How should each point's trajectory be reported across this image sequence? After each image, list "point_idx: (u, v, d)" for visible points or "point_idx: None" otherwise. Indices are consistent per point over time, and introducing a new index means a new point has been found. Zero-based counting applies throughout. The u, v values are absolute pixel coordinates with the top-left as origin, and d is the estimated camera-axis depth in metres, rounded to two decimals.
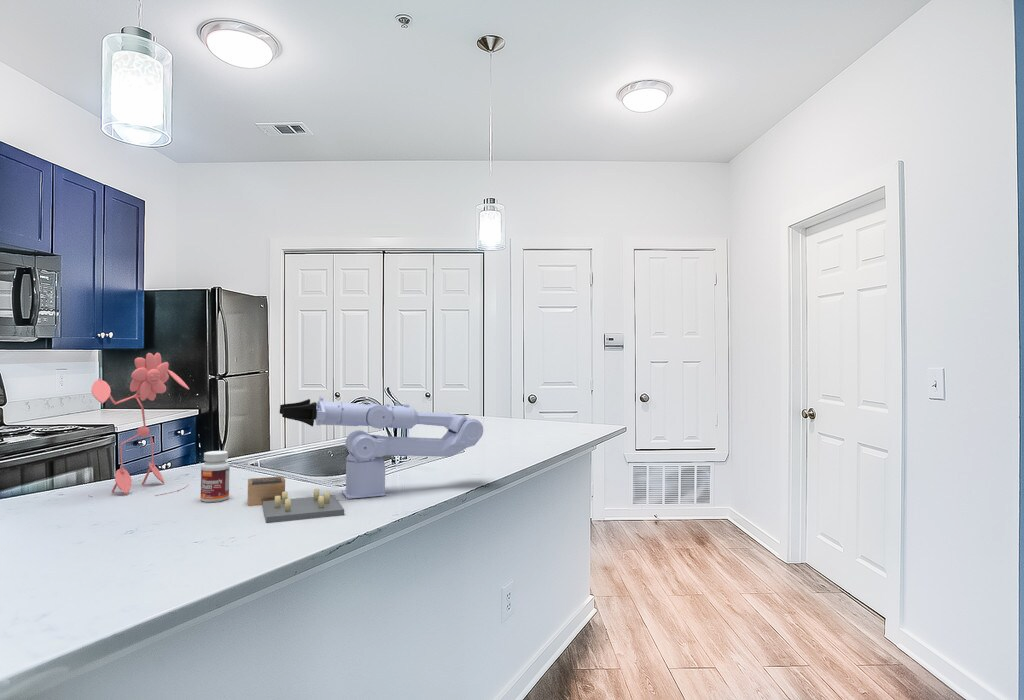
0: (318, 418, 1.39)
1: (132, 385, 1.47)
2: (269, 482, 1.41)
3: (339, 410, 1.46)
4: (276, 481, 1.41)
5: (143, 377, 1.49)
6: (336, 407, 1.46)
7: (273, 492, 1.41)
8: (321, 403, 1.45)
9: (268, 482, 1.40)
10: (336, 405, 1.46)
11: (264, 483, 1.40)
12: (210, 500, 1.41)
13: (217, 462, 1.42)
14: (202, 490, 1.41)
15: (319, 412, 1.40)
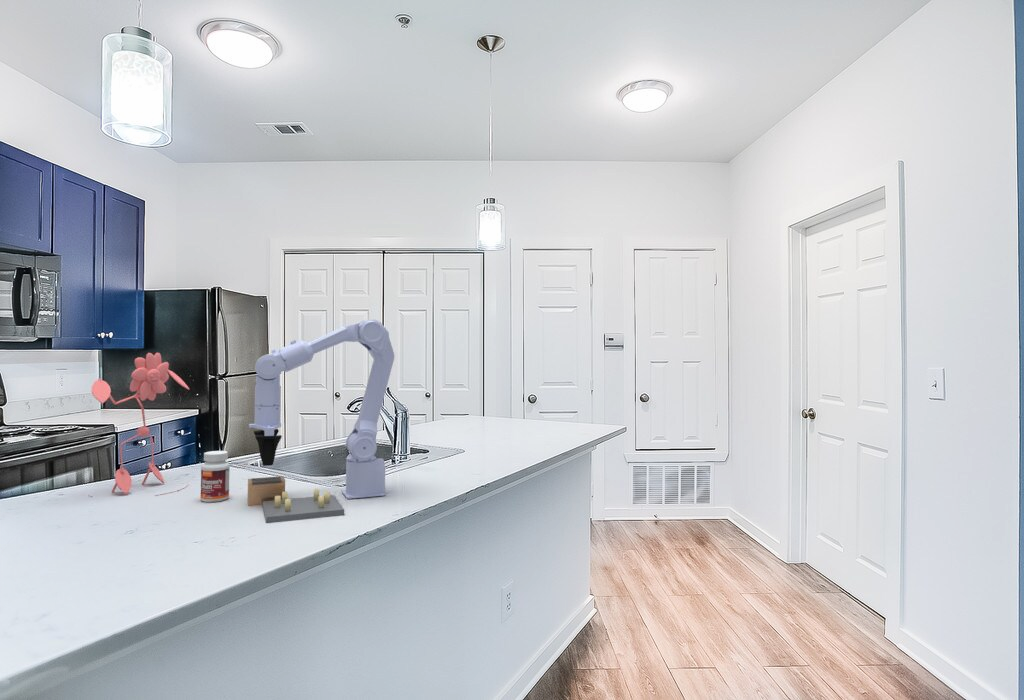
0: (272, 434, 1.36)
1: (132, 385, 1.47)
2: (269, 482, 1.41)
3: (263, 408, 1.40)
4: (276, 481, 1.41)
5: (143, 377, 1.49)
6: (260, 411, 1.40)
7: (273, 492, 1.41)
8: (256, 427, 1.39)
9: (268, 482, 1.40)
10: (258, 411, 1.40)
11: (264, 483, 1.40)
12: (210, 500, 1.41)
13: (217, 462, 1.42)
14: (202, 490, 1.41)
15: (265, 434, 1.35)
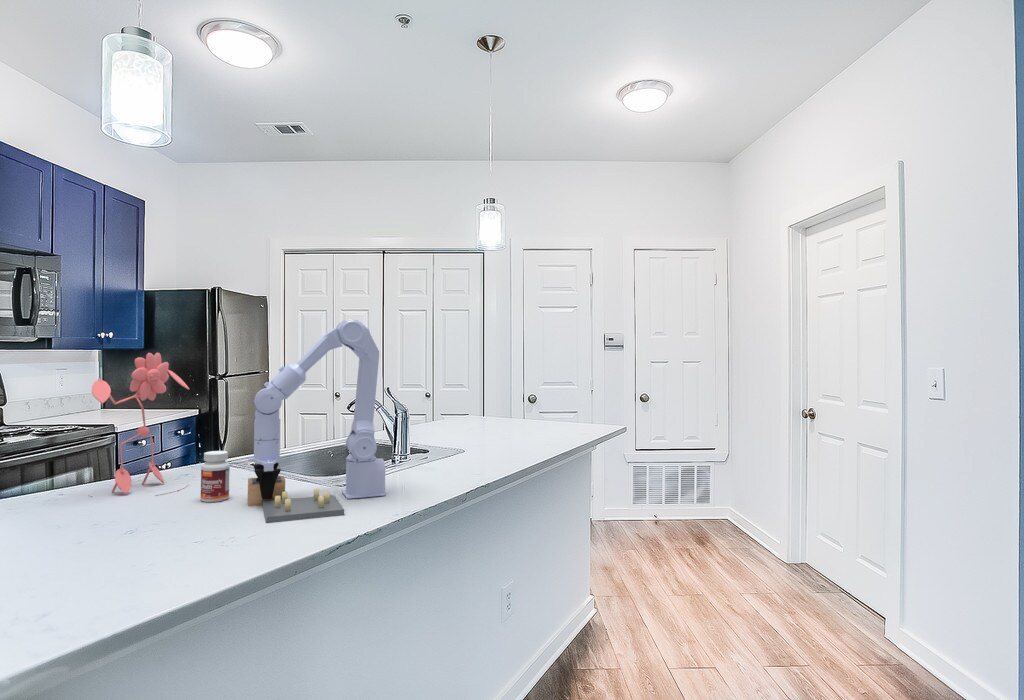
0: (271, 469, 1.36)
1: (132, 385, 1.47)
2: None
3: (262, 443, 1.40)
4: (276, 481, 1.41)
5: (143, 377, 1.49)
6: (259, 446, 1.40)
7: None
8: (255, 461, 1.39)
9: None
10: (257, 446, 1.40)
11: None
12: (210, 500, 1.41)
13: (217, 462, 1.42)
14: (202, 490, 1.41)
15: (265, 469, 1.35)
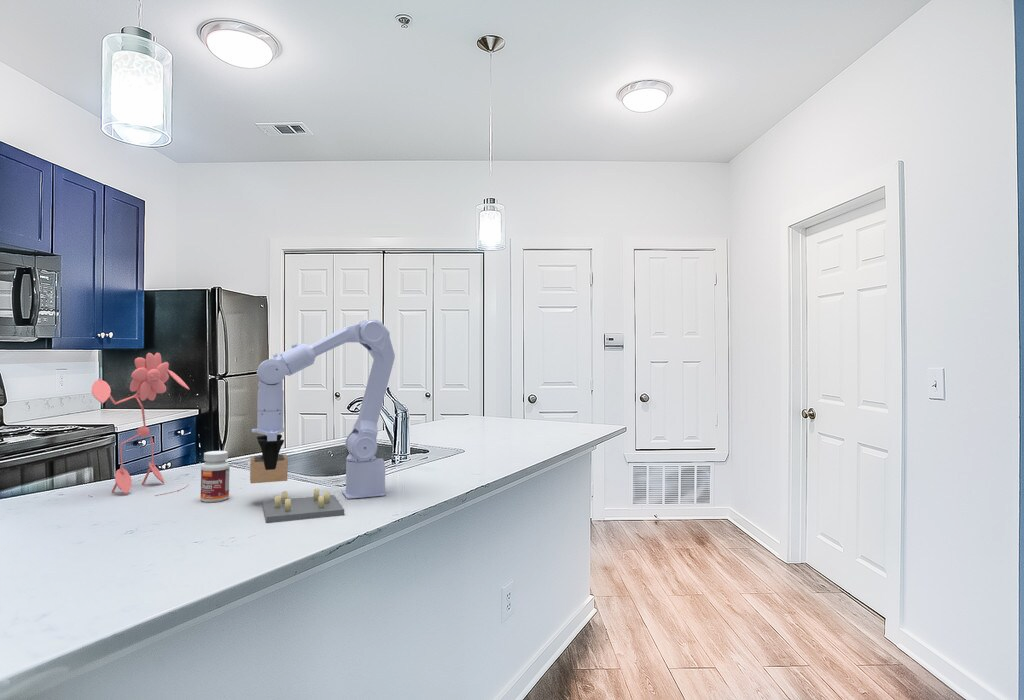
0: (275, 439, 1.36)
1: (132, 385, 1.47)
2: None
3: (266, 413, 1.39)
4: (279, 458, 1.41)
5: (143, 377, 1.49)
6: (263, 416, 1.39)
7: (276, 469, 1.40)
8: (259, 432, 1.39)
9: None
10: (261, 416, 1.39)
11: None
12: (210, 500, 1.41)
13: (217, 462, 1.42)
14: (202, 490, 1.41)
15: (268, 439, 1.35)
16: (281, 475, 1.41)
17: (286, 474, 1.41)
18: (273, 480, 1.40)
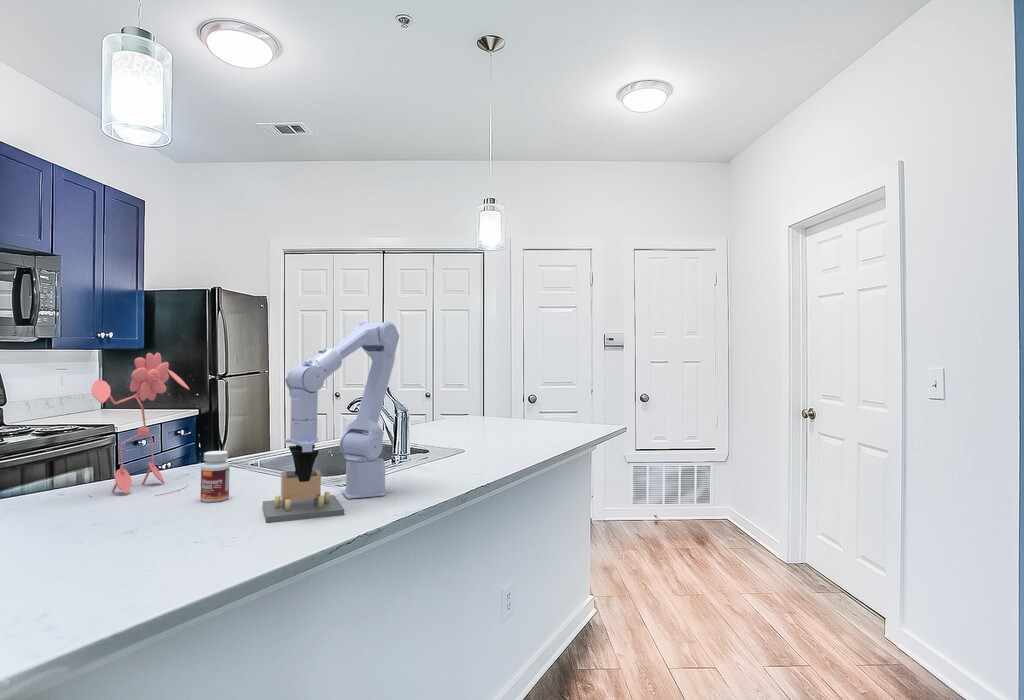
0: (310, 450, 1.29)
1: (132, 385, 1.47)
2: None
3: (300, 423, 1.33)
4: (311, 474, 1.34)
5: (143, 377, 1.49)
6: (296, 426, 1.33)
7: (308, 485, 1.34)
8: (293, 442, 1.32)
9: None
10: (294, 426, 1.33)
11: None
12: (210, 500, 1.41)
13: (217, 462, 1.42)
14: (202, 490, 1.41)
15: (303, 450, 1.29)
16: (314, 491, 1.34)
17: (319, 490, 1.35)
18: (306, 497, 1.34)
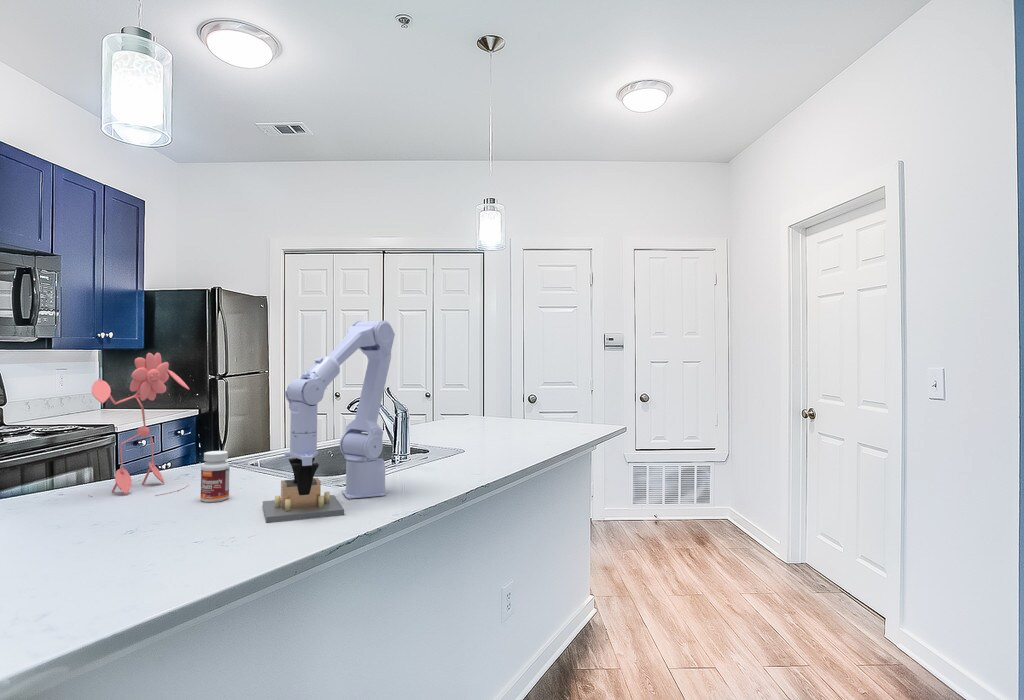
0: (310, 463, 1.29)
1: (132, 385, 1.47)
2: None
3: (300, 436, 1.33)
4: None
5: (143, 377, 1.49)
6: (296, 439, 1.33)
7: None
8: (292, 455, 1.32)
9: None
10: (294, 439, 1.33)
11: None
12: (210, 500, 1.41)
13: (217, 462, 1.42)
14: (202, 490, 1.41)
15: (303, 463, 1.29)
16: (313, 500, 1.34)
17: None
18: (305, 506, 1.34)
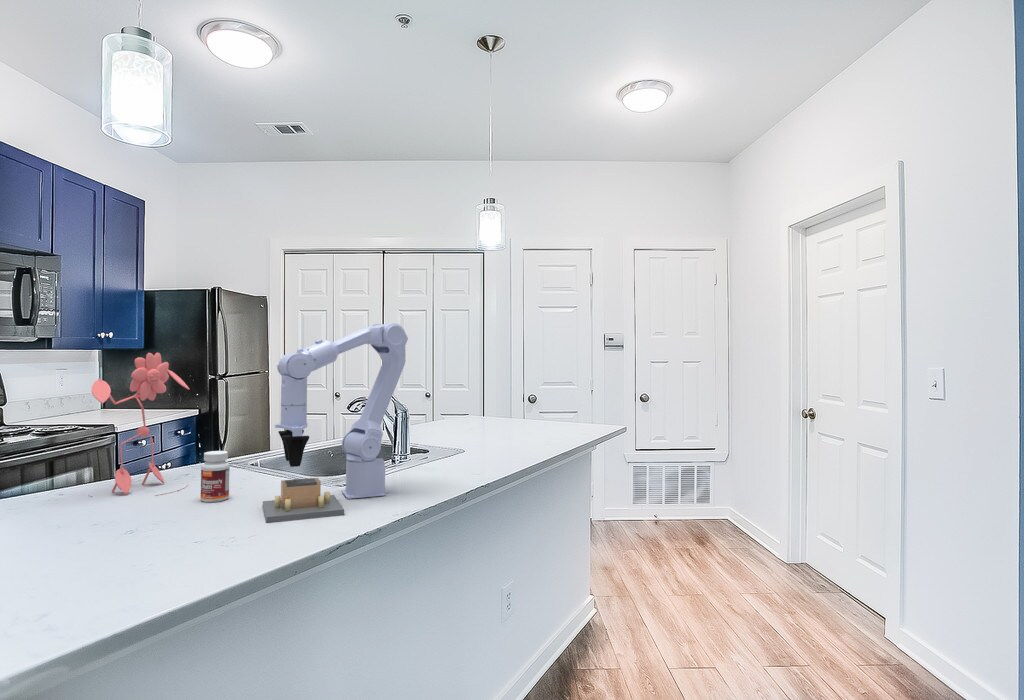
0: (300, 434, 1.33)
1: (132, 385, 1.47)
2: (304, 484, 1.33)
3: (290, 408, 1.36)
4: (311, 483, 1.34)
5: (143, 377, 1.49)
6: (287, 411, 1.36)
7: (308, 494, 1.34)
8: (283, 427, 1.36)
9: (303, 484, 1.33)
10: (285, 411, 1.37)
11: (299, 485, 1.33)
12: (210, 500, 1.41)
13: (217, 462, 1.42)
14: (202, 490, 1.41)
15: (294, 434, 1.32)
16: (313, 500, 1.34)
17: None
18: (305, 506, 1.34)
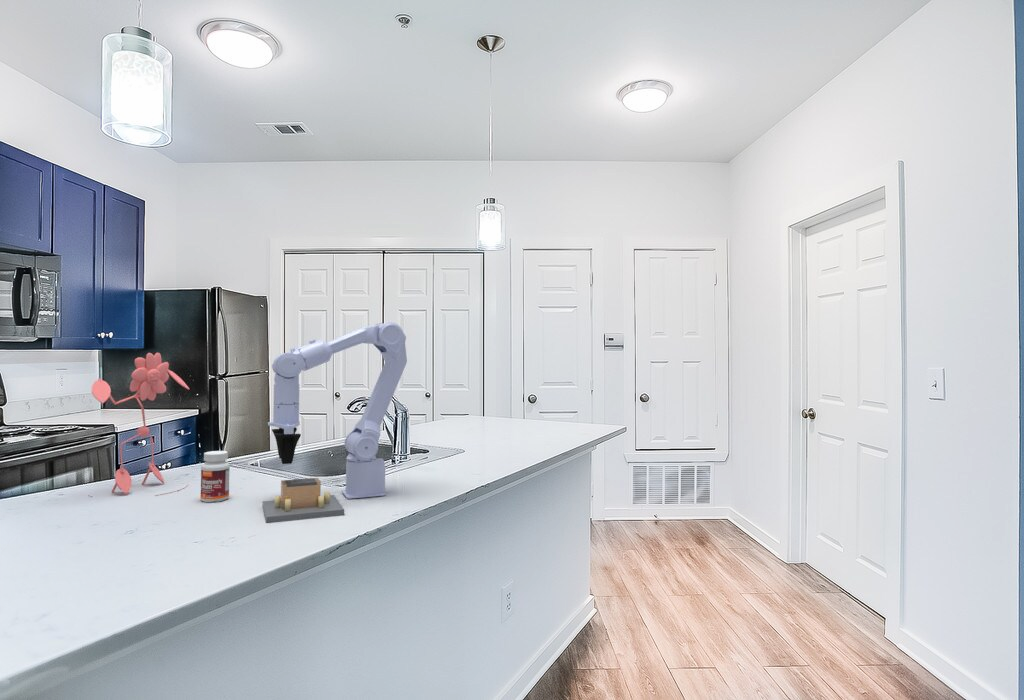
0: (291, 432, 1.36)
1: (132, 385, 1.47)
2: (304, 484, 1.33)
3: (282, 407, 1.39)
4: (311, 483, 1.34)
5: (143, 377, 1.49)
6: (279, 410, 1.39)
7: (308, 494, 1.34)
8: (275, 425, 1.39)
9: (303, 484, 1.33)
10: (277, 410, 1.40)
11: (299, 485, 1.33)
12: (210, 500, 1.41)
13: (217, 462, 1.42)
14: (202, 490, 1.41)
15: (285, 432, 1.35)
16: (313, 500, 1.34)
17: None
18: (305, 506, 1.34)
